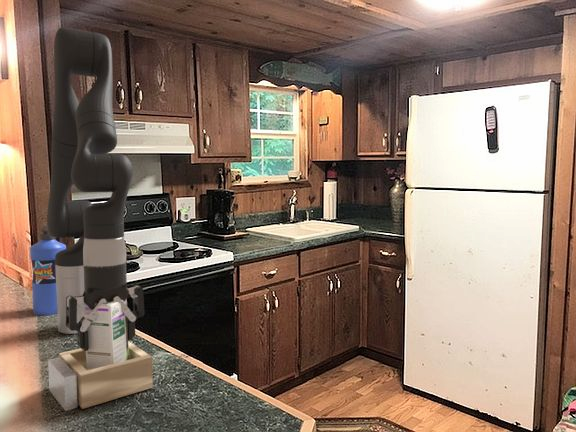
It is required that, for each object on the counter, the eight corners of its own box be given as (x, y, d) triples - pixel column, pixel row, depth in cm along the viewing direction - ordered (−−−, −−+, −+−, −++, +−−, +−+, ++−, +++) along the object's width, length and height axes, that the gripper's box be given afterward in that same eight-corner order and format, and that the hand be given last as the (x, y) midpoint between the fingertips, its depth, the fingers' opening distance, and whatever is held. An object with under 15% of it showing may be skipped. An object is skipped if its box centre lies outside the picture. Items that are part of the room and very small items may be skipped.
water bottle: (58, 315, 136) (55, 227, 134) (26, 315, 137) (22, 227, 134) (73, 306, 146) (70, 223, 143) (43, 305, 146) (39, 223, 143)
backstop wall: (49, 390, 91) (48, 359, 90) (60, 387, 92) (59, 357, 92) (65, 411, 84) (64, 377, 83) (77, 407, 85) (76, 374, 84)
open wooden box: (60, 383, 94) (58, 353, 93) (125, 365, 102) (125, 338, 102) (82, 409, 84) (81, 375, 83) (152, 387, 92) (152, 357, 92)
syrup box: (113, 381, 90) (111, 305, 88) (85, 378, 91) (83, 303, 90) (129, 368, 96) (128, 297, 94) (102, 365, 97) (100, 294, 95)
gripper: (133, 253, 98) (135, 331, 100) (58, 262, 89) (61, 347, 91) (149, 259, 93) (151, 341, 94) (71, 269, 83) (74, 359, 85)
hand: (107, 344), depth 93 cm, fingers closed on syrup box, 8 cm apart
